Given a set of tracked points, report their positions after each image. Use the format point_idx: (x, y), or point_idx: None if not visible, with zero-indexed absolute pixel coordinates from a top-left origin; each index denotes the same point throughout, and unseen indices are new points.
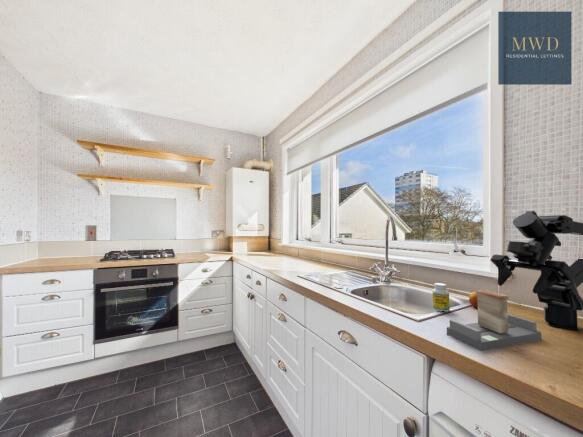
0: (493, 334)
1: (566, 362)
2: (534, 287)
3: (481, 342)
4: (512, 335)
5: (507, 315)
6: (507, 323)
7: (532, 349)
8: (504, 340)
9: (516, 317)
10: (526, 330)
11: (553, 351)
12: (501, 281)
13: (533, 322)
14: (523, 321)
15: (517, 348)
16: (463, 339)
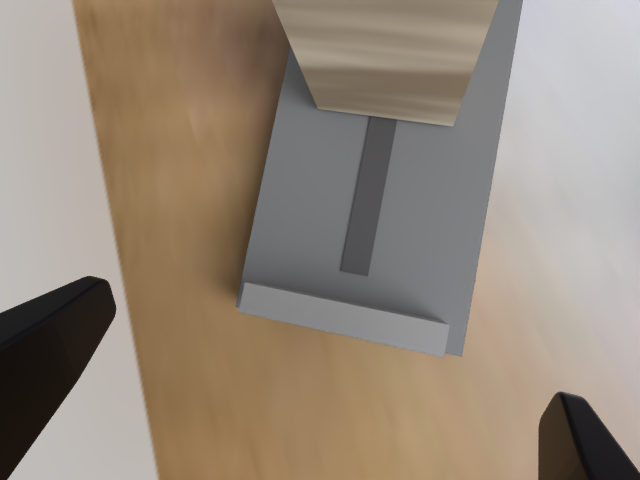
0: None
1: (121, 116)
2: (54, 307)
3: None
4: (294, 99)
5: (297, 57)
6: (309, 82)
7: (229, 126)
8: None
9: (346, 304)
10: (287, 259)
11: (176, 190)
12: (562, 467)
13: (245, 286)
14: (305, 294)
15: (266, 73)
16: None
